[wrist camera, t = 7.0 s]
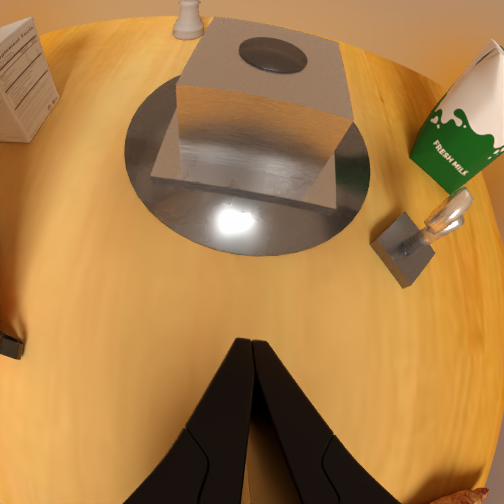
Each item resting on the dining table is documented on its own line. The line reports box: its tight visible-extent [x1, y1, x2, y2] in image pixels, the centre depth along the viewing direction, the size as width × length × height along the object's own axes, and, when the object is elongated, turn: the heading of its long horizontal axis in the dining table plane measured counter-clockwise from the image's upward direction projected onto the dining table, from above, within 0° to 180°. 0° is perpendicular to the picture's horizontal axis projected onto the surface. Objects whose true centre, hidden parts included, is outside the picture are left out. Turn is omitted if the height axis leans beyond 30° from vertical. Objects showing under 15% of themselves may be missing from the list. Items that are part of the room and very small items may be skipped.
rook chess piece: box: [173, 0, 204, 40], centre depth 27 cm, size 4×4×8 cm
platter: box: [124, 75, 370, 256], centre depth 25 cm, size 24×24×1 cm
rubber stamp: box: [370, 187, 473, 288], centre depth 19 cm, size 5×5×10 cm
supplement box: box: [0, 17, 60, 143], centre depth 17 cm, size 7×7×13 cm
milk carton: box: [409, 39, 504, 195], centre depth 20 cm, size 9×9×20 cm
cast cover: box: [150, 17, 354, 215], centre depth 21 cm, size 15×15×9 cm
